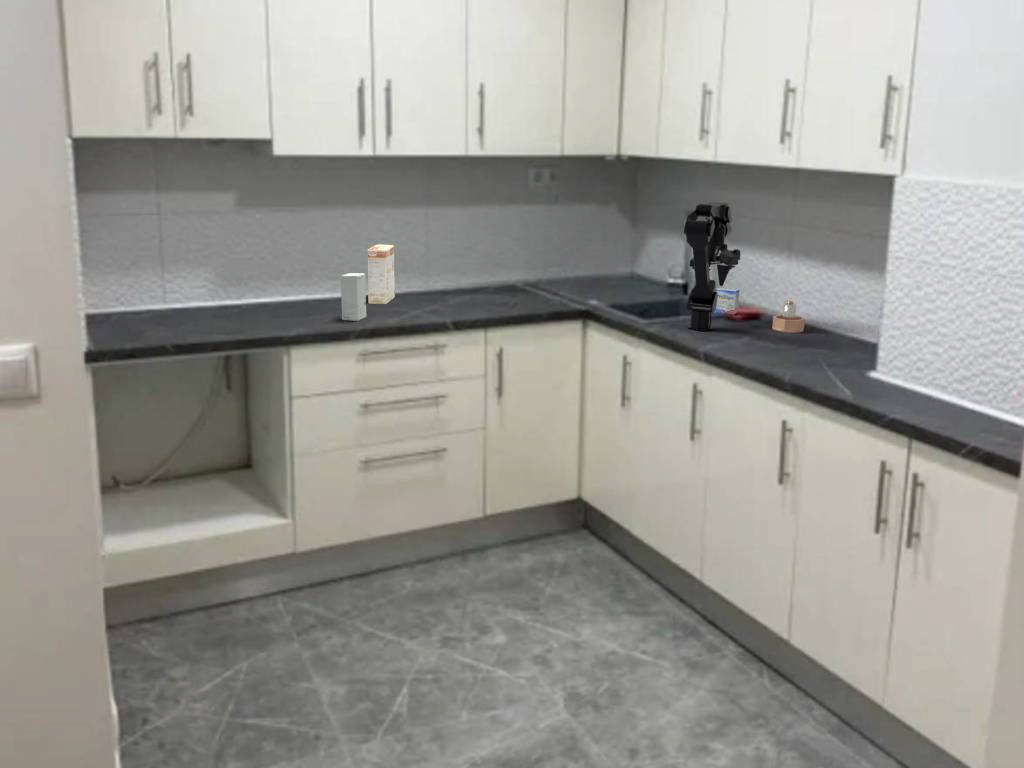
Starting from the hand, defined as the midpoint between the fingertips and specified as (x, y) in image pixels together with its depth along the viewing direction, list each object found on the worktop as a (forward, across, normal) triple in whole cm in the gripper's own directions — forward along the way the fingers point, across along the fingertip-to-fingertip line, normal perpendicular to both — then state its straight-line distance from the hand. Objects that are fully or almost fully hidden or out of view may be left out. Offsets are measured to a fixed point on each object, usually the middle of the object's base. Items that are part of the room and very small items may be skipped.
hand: (712, 287), depth 349 cm
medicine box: (+12, +18, +8) cm, 23 cm away
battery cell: (+11, +12, -23) cm, 28 cm away
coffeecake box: (+12, -70, +95) cm, 119 cm away
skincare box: (+12, -97, +70) cm, 120 cm away
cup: (+12, +12, -23) cm, 29 cm away
